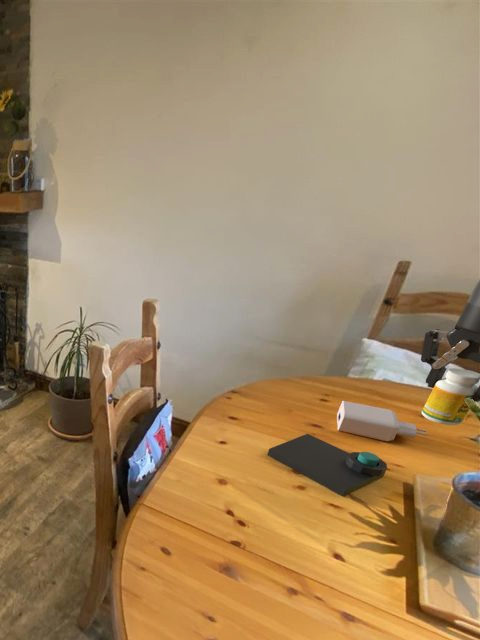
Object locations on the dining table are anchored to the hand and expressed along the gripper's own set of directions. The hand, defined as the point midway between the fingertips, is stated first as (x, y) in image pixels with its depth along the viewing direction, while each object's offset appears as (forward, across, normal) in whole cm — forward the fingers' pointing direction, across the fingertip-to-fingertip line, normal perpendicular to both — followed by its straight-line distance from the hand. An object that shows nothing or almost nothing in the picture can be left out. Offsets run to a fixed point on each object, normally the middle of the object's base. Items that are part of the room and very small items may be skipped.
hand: (454, 392), depth 76 cm
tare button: (+16, -4, -7) cm, 18 cm away
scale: (+19, -10, -12) cm, 24 cm away
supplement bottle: (+6, 0, 0) cm, 6 cm away
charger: (+20, -12, +13) cm, 26 cm away
